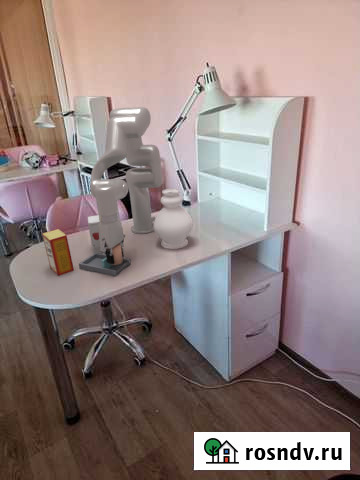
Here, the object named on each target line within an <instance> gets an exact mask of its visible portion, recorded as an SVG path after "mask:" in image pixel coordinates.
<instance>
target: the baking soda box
mask: <svg viewBox="0 0 360 480" xmlns="http://www.w3.org/2000/svg"><path fill="white" fill-rule="evenodd" d="M41 235H42V238H43V243H44V246H45V247H44V248H45V250H46V256H47V261H48V264H49V268H50V269H51V270H52V272H54V273H55V274H56V275H57V276H58V277H59V276H62V275H65V274H68V273H71V272H73V271H75V268H74V265H73V260H72V259H73V258H72V255H71V249H70V246H69V241H68V237H67V235H66V234H65V233H64V232H63V231H61V230H60V229H59V228H57V229H52V230H49V231H47V232H46V231H45V232H42V233H41Z"/></svg>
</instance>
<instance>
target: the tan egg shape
mask: <svg viewBox="0 0 360 480" xmlns="http://www.w3.org/2000/svg"><path fill="white" fill-rule="evenodd" d="M109 250H110V249H108V251H109ZM112 254H113V255H114V261H115V263H114V264H111V265H118V264H121V263H122V262H123V258H124V256H123V257H122V250H121V244H119V243H118V244H117V245H116V246H114V247H113V250H112Z"/></svg>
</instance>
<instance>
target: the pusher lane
mask: <svg viewBox="0 0 360 480" xmlns="http://www.w3.org/2000/svg"><path fill="white" fill-rule="evenodd" d="M104 258H106V255H105V254H104V253H92V254H91V255H89V256H88V257H86V258H85V259H84V260H82V261H80V262H79V263H78V268H79V270H84V271H87V272H88V271H89V272H91V273H92V272H93V273H97V274H102V275H106V276H111V277H116V276H118V275H119V274H120V273H122V272H123V271H124V270H125V269H127V268H128V267H129V266H130V265H131V259H130V258H126V257H125V258H124V257H123V262H122V263H121V264H118V265H112V266H111V267H110V268H108V269H107V268H102V262H101V261H102V260H103V259H104Z"/></svg>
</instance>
